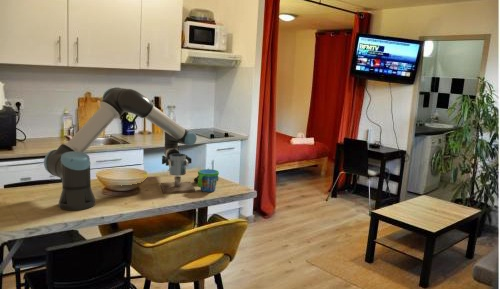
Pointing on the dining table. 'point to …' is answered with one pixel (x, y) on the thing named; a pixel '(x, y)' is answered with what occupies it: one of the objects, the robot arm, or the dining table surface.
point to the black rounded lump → (196, 178)
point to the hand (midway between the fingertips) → (178, 164)
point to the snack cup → (207, 179)
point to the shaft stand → (177, 186)
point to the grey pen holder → (178, 164)
